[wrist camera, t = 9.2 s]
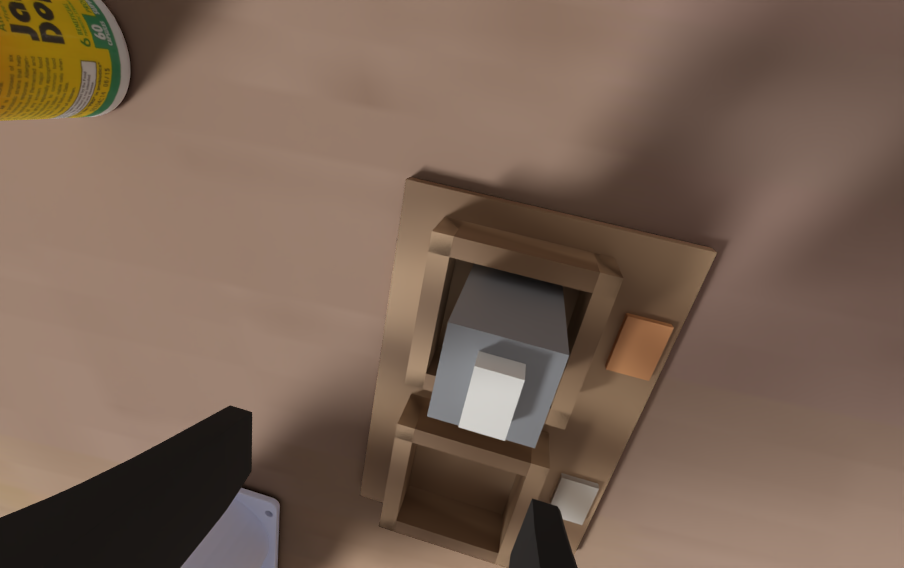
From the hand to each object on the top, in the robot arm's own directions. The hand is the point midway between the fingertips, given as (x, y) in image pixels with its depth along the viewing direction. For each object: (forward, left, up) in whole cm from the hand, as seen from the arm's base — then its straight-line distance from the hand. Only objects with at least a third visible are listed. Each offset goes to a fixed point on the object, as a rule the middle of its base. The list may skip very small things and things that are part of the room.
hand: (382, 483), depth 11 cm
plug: (+1, -2, -9) cm, 10 cm away
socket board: (-4, -3, -10) cm, 11 cm away
